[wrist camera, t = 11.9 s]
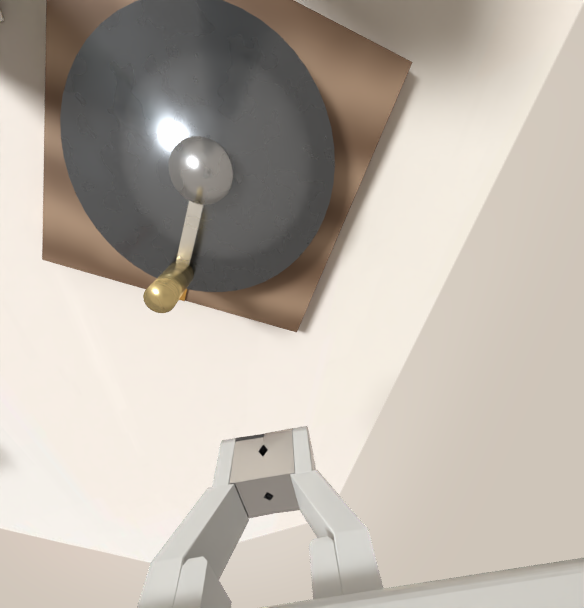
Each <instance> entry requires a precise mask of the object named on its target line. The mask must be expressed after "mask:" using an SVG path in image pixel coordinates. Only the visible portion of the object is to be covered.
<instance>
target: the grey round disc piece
mask: <svg viewBox="0 0 584 608" xmlns="http://www.w3.org/2000/svg"><path fill="white" fill-rule="evenodd" d="M60 126H61V142H62V149H63V156H64V160H65V164H66V167H67V171H68V175H69V178H70V180H71V183H72V186H73V188H74V191H75V193H76V196H77V197H78V199H79V201H80V203H81V205H82V207H83V209H84V211H85V213H86V214H87V215H88V217H89V218H90V220H91V221H92V223H93V224H94V226H95V227H96V229H97V230H98V231H99V232H100V233H101V235H102V236H103V237H104V238H105V239H106V241H107V242H108V243H109V244H110V245H111V246H112V247H113V248H114V249H115V250H116V251H117V252H118V253H120V254H121V255H122V256H123V257H124V258H126V259H127V260H128V261H129V262H131V263H132V264H133V265H135V266H136V267H138V268H139V269H141V270H143V271H144V272H146V273H147V274H149V275H151V276H153V277H155V278H157V279H156V280H155V281H154V282H153V283H152V284H151V285H150V286H149V287H148V288H147V289H146V290H145V292H144V296H143V298H144V302H145V304H146V305H147V307H148V308H150V309H151V310H153V311H155V312H158V313H166V312H169V311H171V310H172V309H173V308H174V306H175V305H176V303H177V302H178V300H179V299H180V297H181V296H182V294H183V293H184V291H185V290H186V289H190V290H195V291H203V292H227V291H236V290H241V289H245V288H249V287H252V286H255V285H257V284H260V283H263V282H265V281H267V280H269V279H270V278H272V277H274V276H276V275H278V274H279V273H280V272H282V271H283V270H285V269H286V268H288V267H289V266H290V265H291V264H292V263H293V262H294V261H295V260H296V259H297V258H299V257H300V255H301V254H302V253H303V252H304V251H305V249H306V248H307V247H308V246H309V244H310V243H311V241H312V240H313V238H314V237H315V235H316V234H317V232H318V230H319V228H320V226H321V224H322V222H323V220H324V217H325V214H326V211H327V208H328V206H329V203H330V198H331V193H332V189H333V183H334V171H335V154H334V142H333V136H332V129H331V125H330V121H329V117H328V114H327V110H326V107H325V104H324V102H323V99H322V97H321V95H320V92H319V90H318V87H317V85H316V84H315V82H314V80H313V78H312V76H311V75H310V73H309V71H308V69H307V68H306V66H305V65H304V64H303V62H302V61H301V59H300V58H299V57H298V55H297V54H296V53H295V51H294V50H293V49H292V48H291V47H290V46H289V45H288V44H287V43H286V42H285V40H284V39H283V38H282V37H281V36H280V35H279V34H278V33H277V32H275V31H274V30H273V29H272V28H270V27H269V26H268V25H267V24H265V23H264V22H263V21H262V20H260V19H259V18H257V17H255V16H254V15H252V14H250V13H249V12H247V11H245V10H244V9H242V8H240V7H238V6H235V5H233V4H230V3H228V2H226V1H223V0H138V1H135V2H133V3H131V4H129V5H127V6H125V7H123V8H121V9H119V10H117V11H116V12H115V13H113V14H112V15H111V16H110V17H108V18H107V19H106V20H104V21H103V22H102V23H101V24H100V25H99V26H98V27H97V28H96V29H95V30H94V31H93V33H92V34H91V35H90V36H89V37H88V38H87V39H86V41H85V43H84V44H83V46H82V47H81V49H80V50H79V52H78V54H77V55H76V57H75V59H74V62H73V64H72V66H71V69H70V71H69V74H68V76H67V80H66V84H65V88H64V92H63V96H62V105H61V114H60Z"/></svg>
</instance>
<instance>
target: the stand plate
mask: <svg viewBox="0 0 584 608" xmlns="http://www.w3.org/2000/svg"><path fill="white" fill-rule="evenodd" d="M135 1H138V0H47V5H46V67H45V128H44V189H43V251H42V260H46V261H49V262H53V263H56V264H60V265H63V266H67V267H70V268H74V269H77V270H81V271H84V272H88V273H91V274H95V275H98V276H102V277H105V278H109V279H112V280H116V281H119V282H123V283H126V284H130V285H133V286H137V287H140V288H144V289H147V288H148V287H149V286H150V285H151V284H152V283H153V282H154V281H155V280H156V279H157V278H155V277H153V276H151V275H149V274H147V273H146V272H144V271H143V270H141V269H139V268H138V267H136V266H135V265H133V264H132V263H131V262H129V261H128V260H127V259H126V258H124V257H123V256H122V255H121V254H120V253H118V252H117V251H116V250H115V249H114V248H113V247H112V246H111V245H110V244H109V243H108V242H107V241H106V239H105V238H104V237H103V236H102V235H101V233H100V232H99V231H98V230H97V229H96V227H95V226H94V224H93V223H92V221H91V220H90V218H89V217H88V215H87V214H86V213H85V211H84V209H83V207H82V205H81V203H80V201H79V199H78V197H77V196H76V193H75V191H74V188H73V186H72V183H71V180H70V178H69V175H68V171H67V167H66V164H65V160H64V156H63V149H62V142H61V126H60V114H61V105H62V96H63V92H64V88H65V84H66V80H67V76H68V74H69V71H70V69H71V66H72V64H73V62H74V59H75V57H76V55H77V54H78V52H79V50H80V49H81V47H82V46H83V44H84V43H85V41H86V39H87V38H88V37H89V36H90V35H91V34H92V33H93V31H94V30H95V29H96V28H97V27H98V26H99V25H100V24H101V23H102V22H103V21H104V20H106V19H107V18H108V17H110V16H111V15H112V14H113V13H115V12H116V11H117V10H119V9H121V8H123V7H125V6H127V5H129V4H131V3H133V2H135ZM223 1H226V2H228V3H230V4H233V5H235V6H238V7H240V8H242V9H244V10H245V11H247V12H249V13H250V14H252V15H254V16H255V17H257V18H259V19H260V20H262V21H263V22H264V23H265V24H267V25H268V26H269V27H270V28H272V29H273V30H274V31H275V32H277V33H278V34H279V35H280V36H281V37H282V38H283V39H284V40H285V42H286V43H287V44H288V45H289V46H290V47H291V48H292V49H293V50H294V51H295V53H296V54H297V55H298V57H299V58H300V59H301V61H302V62H303V64H304V65H305V66H306V68H307V69H308V71H309V73H310V75H311V76H312V78H313V80H314V82H315V84H316V85H317V87H318V90H319V92H320V95H321V97H322V99H323V102H324V104H325V107H326V110H327V114H328V117H329V121H330V125H331V129H332V136H333V142H334V154H335V171H334V183H333V189H332V193H331V198H330V203H329V206H328V208H327V211H326V214H325V217H324V220H323V222H322V224H321V226H320V228H319V230H318V232H317V234H316V235H315V237H314V238H313V240H312V241H311V243H310V244H309V246H308V247H307V248H306V249H305V251H304V252H303V253H302V254H301V255H300V257H299V258H297V259H296V260H295V261H294V262H293V263H292V264H291V265H290V266H289V267H288V268H286V269H285V270H283V271H282V272H280V273H279V274H278V275H276V276H274V277H272V278H270V279H269V280H267V281H265V282H263V283H260V284H257V285H255V286H252V287H249V288H245V289H241V290H236V291H227V292H203V291H195V290H190V289H186V290H185V291H184V293H183V294H182V296H181V297H180V299H179V300H182V301H185V300H186V301H189V302H193V303H196V304H200V305H203V306H207V307H210V308H214V309H217V310H221V311H224V312H228V313H231V314H235V315H238V316H242V317H245V318H249V319H252V320H256V321H259V322H263V323H266V324H269V325H273V326H276V327H280V328H283V329H287V330H290V331H294V332H297V330H298V328H299V326H300V323H301V321H302V319H303V316H304V314H305V312H306V309H307V307H308V305H309V302H310V300H311V298H312V295H313V293H314V291H315V288H316V286H317V284H318V281H319V279H320V277H321V274H322V272H323V270H324V267H325V265H326V263H327V260H328V258H329V256H330V253H331V251H332V249H333V246H334V244H335V242H336V239H337V237H338V235H339V232H340V230H341V228H342V225H343V223H344V221H345V218H346V216H347V214H348V211H349V209H350V207H351V204H352V202H353V200H354V197H355V195H356V193H357V190H358V188H359V186H360V183H361V181H362V179H363V176H364V174H365V172H366V169H367V167H368V165H369V162H370V160H371V158H372V155H373V153H374V151H375V148H376V146H377V144H378V141H379V139H380V137H381V134H382V132H383V130H384V127H385V125H386V123H387V120H388V118H389V116H390V113H391V111H392V109H393V106H394V104H395V102H396V99H397V97H398V95H399V92H400V90H401V88H402V85H403V83H404V81H405V78H406V76H407V74H408V71H409V69H410V67H411V64H412V62H411V61H409V60H407V59H405V58H403V57H401V56H399V55H397V54H395V53H394V52H392V51H390V50H388V49H386V48H384V47H382V46H380V45H378V44H376V43H374V42H372V41H370V40H369V39H367V38H365V37H363V36H361V35H359V34H357V33H355V32H353V31H351V30H349V29H347V28H346V27H344V26H342V25H340V24H338V23H336V22H334V21H332V20H330V19H328V18H326V17H324V16H323V15H321V14H319V13H317V12H315V11H313V10H311V9H309V8H307V7H305V6H303V5H301V4H299V3H298V2H296V1H294V0H223Z"/></svg>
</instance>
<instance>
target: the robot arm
mask: <svg viewBox="0 0 584 608" xmlns="http://www.w3.org/2000/svg"><path fill="white" fill-rule="evenodd" d="M296 510H300V511H301V513H302V514H303V516H304V518H305V519H306V521H307V522H308V524H309V525H310V527H311V528H312V530H313V532H314V533H315V535H316V536H317V538H316V539H313V540H312V541H311V543H310V545H309V551H310V563H311V576H312V588H313V600H306V601H300V602H294V603H287V604H280V605H274V606H267V607H261V608H584V558H580V559H572V560H566V561H559V562H553V563H547V564H540V565H534V566H527V567H521V568H514V569H508V570H502V571H495V572H488V573H482V574H476V575H469V576H463V577H456V578H449V579H443V580H436V581H430V582H423V583H417V584H410V585H404V586H398V587H391V588H384V589H383V586H382V581H381V577H380V574H379V570H378V566H377V562H376V558H375V554H374V550H373V546H372V542H371V538H370V535H369V530H368V528H367V527H366V526H365V525H364V524H363V522H362V521H361V520H360V519H359V518H358V517H357V515H356V514H355V513H354V512H353V511H352V510H351V508H349V506H348V505H347V504H346V503H345V502H344V500H343V499H342V498H341V497H340V496H339V495H338V493H337V492H336V491H335V490H334V489H333V488H332V486H331V485H330V484H329V483H328V482H327V481H326V480H325V478H324V477H323V476H322V475H321V474H320V473H319V471H318V470H316V468H315V461H314V456H313V451H312V445H311V441H310V436H309V431H308V427H307V426H305V427H299V428H292V429H286V430H281V431H275V432H270V433H265V434H261V435H254V436H247V437H240V438H234V439H227V440H222V442H221V444H220V448H219V453H218V459H217V464H216V469H215V474H214V480H213V485H212V487H210V488H207V490H206V491H205V492H204V494H203V495H202V496H201V498H200V499H199V500H198V501H197V503H196V504H195V505H194V507H193V508H192V509H191V511H190V512H189V513H188V515H187V516H186V517H185V519H184V520H183V521H182V523H181V524H180V525H179V526H178V528H177V529H176V530H175V532H174V533H173V534H172V536H171V537H170V538H169V540H168V541H167V542H166V544H165V545H164V546H163V547H162V549H161V550H160V551H159V553H158V554H157V555H156V557H155V558H154V559H153V561H152V562H151V564H150V567H149V570H148V574H147V577H146V580H145V584H144V587H143V590H142V593H141V596H140V600H139V603H138V606H137V608H231V600H230V599H229V597H228V595H227V594H226V592H225V590H224V588H223V587H222V585H221V583H220V582H219V578H220V576H221V575H222V573H223V571H224V569H225V567H226V565H227V563H228V561H229V559H230V557H231V555H232V553H233V551H234V549H235V547H236V545H237V543H238V541H239V539H240V537H241V535H242V533H243V531H244V529H245V527H246V525H247V523H248V521H249V519H248V518H253V517H258V516H263V515H268V514H273V513H280V512H288V511H296Z"/></svg>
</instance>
